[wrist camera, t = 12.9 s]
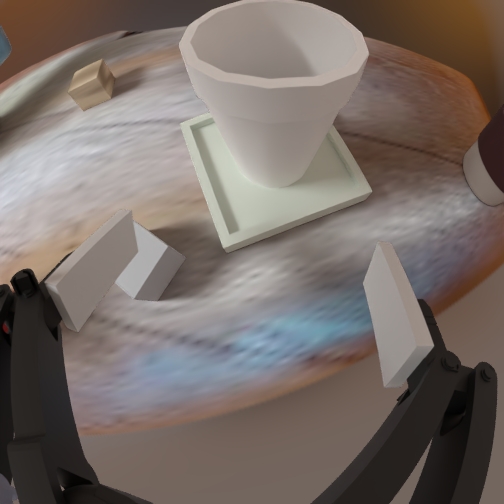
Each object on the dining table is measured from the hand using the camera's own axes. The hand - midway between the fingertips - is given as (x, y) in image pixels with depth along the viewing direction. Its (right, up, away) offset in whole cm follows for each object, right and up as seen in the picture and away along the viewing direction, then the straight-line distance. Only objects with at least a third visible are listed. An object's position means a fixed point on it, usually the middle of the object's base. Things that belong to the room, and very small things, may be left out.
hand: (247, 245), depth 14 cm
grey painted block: (-8, -1, +9) cm, 12 cm away
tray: (+2, +8, +10) cm, 13 cm away
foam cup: (+2, +8, +9) cm, 12 cm away
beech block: (-21, +21, +14) cm, 33 cm away
